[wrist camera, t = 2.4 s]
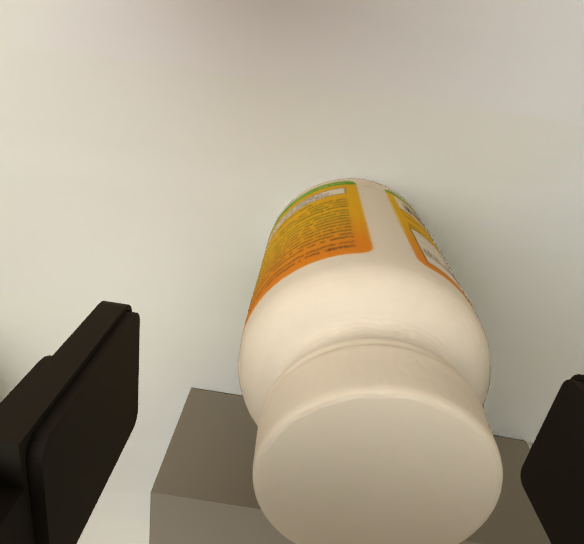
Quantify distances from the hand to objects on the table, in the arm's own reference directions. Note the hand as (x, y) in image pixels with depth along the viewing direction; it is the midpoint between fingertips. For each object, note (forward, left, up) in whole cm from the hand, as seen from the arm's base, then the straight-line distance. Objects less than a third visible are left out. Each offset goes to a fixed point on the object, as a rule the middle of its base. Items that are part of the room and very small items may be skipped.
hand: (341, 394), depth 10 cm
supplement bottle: (0, -1, -7) cm, 7 cm away
